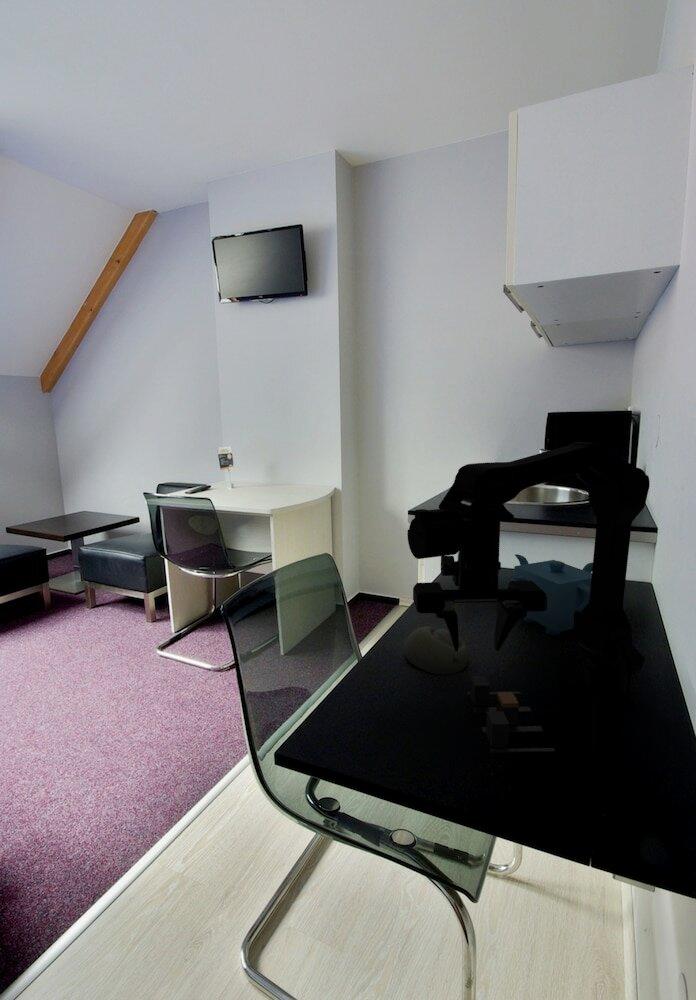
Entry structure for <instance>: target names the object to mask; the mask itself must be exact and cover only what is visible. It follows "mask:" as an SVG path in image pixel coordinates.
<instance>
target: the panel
mask: <svg viewBox="0 0 696 1000" xmlns="http://www.w3.org/2000/svg"><path fill="white" fill-rule="evenodd" d="M497 692H498V691H490V696H495V695H496V696H497ZM512 692H513V694H514V695H522V692H521V691H512ZM466 694H467V696H470V691H466ZM472 709H473V712H474V713H475V714H481V713H483V714H485V713H486V714H487V712H494V711H497V706H495V707H494V706H481V707H473V708H472ZM531 712H532V709H531V708H530V706H519V710H518V713H531ZM480 728H481V731H482V733H485V734H486V726H481V727H480ZM543 732H544V729H543V728H542V726H541V725H522V726H521V725H520V726H519V725H509V733H543ZM490 752H491V753H492V754H493V753H496V754H497V753H499V754H500V753H550V752H551V753H553V752H554V753H555V752H556V749H555V748H554V747H531V748H529V747H526V748H523V747H522V748H521V747H520V748H490Z"/></svg>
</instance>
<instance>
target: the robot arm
mask: <svg viewBox="0 0 696 1000" xmlns="http://www.w3.org/2000/svg"><path fill="white" fill-rule="evenodd" d="M574 474H576V475H575V476H576V477H577V478H578V479H579V481H581V482H583V483H584V484H585V485H586V486H587V492H588V495H587V496H588V502H589V505H590V507H591V509H592V510H593V513H594V515H595V517H596V527H595V534H594V535H595V537H594V547H593V556H592V557H593V559H592V562H593V567H592V572H591V573H592V578H591V589H590V599H589V603H588V604H587V605H586V606H585V607H584V609H583V610H582V611H575V613H574V626H573V629H571V633H572V634H573V635H574V640H575V642H576V643H577V644H578V646H579V649H580V650H579V651H580V653H582V654H585V655H586V656H587V658H586V665H584V666H583V676H582V685H583V686H584V687H585V689H586V690H587V691H588V692H589V693H594V694H600V695H603V696H607V697H610V698H611V697H612V698H616V699H618V700H619V702H621V703H622V704H623V705H634V704H636V703H637V701H636V699H635V698H634V697H633V695H631V691H632V690H631V689H632V681H633V680H632V679H633V676H634V675H636V673H637V672H640V671H641V670H642V668H643V666H644V663H645V660H646V658H645V657H644V656H643V655H642V653H640V652H639V650H638V649H637V648H636V647H635V646H634V645H633V637H632V625H631V623H630V621H629V618H628V617H627V614H626V612H625V610H624V598H625V589H626V579H627V570H628V559H629V553H630V543H631V541H630V540H631V532H632V524H633V521H634V520H635V519H636V518H637V517H638V516H639V514H640V513H641V512H642V511H643V510H644V508H645V506H646V502H647V499H648V494H649V489H650V478H649V475H647V474H646V472H645V471H644V470H643V469H642V468H640V467H635V466H634V465H633V464H631V463H630V462H629V461H626V460H624V459H623V458H620V457H619V456H616V455H615V454H613V453H611V452H609V451H608V450H607V449H606V448H605V447H604V446H602V445H600V443H597V442H587V441H586V442H585V441H574V442H572V443H569V444H567V445H565V446H561V447H557V448H555V449H551V450H547V451H544V452H541V453H537V454H533V455H529V456H526V457H523V458H519V459H516V460H511V461H507V462H506V461H505V462H500V461H499V462H497V461H496V462H477V463H475V462H474V463H468V464H465V465H463V466H461V467H459V469H458V470H457V473H456V475H455V477H454V480H453V484H452V485H451V486H450V488H449V489H448V491H447V492H446V494H445V496H444V497H443V499H442V500H441V502H440V503H439V505H438V509H437V508H436V509H425V508H424V509H423V508H421V509H415V510H414V518H413V519H411V521H410V523H409V528H408V529H407V543H408V547H409V550H410V552H411V554H412V556H413V557H414V558H415V559H416V560H423V559H429V558H439V557H440V574H441V576H442V577H447V576H448V577H449V576H450V577H451V578H452V582H453V583H454V586H455V587H458V589H443V588H442V586H441V584H440V582H439V581H438V582H437V581H436V582H435V581H434V582H416V583H415V585H413V588H412V600H413V603H414V605H415V609H416V612H417V613H419V614H435V617H437V619H443V620H444V622H445V624H446V627H447V630H448V631H449V634H450V637H451V640H452V643H453V646H454V649H455V651H458V647H459V637H460V636H459V622H458V620H459V618H458V613H457V611H456V610H455V607H454V606H455V604H457V603H458V604H459V603H462V604H463V603H464V604H466V603H496V613H497V614H496V621H495V628H494V629H495V630H494V636H493V637H494V649H495V651H497V652H498V651H500V649H501V648H502V646H503V644H504V643H505V641H506V639H507V637H508V635H509V634H510V632H511V631H512V630H513V628H514V627H515V626H516V624H517V623H518V621H519V620H520V619H522V618H525V617H526V616H527V612H529V611H545V610H547V596H546V593H545V592H544V591H543V590H541V589H540V588H539V587H538V586H537V585H536V584H535V583H534V582H533V581H514V580H510V581H509V582H508V585H507V588H506V587H505V588H499V576H500V575H499V572H500V570H501V569H502V562H501V561H500V540H501V539H500V538H501V522H503V521H512V520H514V519H515V515H514V514H513V513H512V512H510V511H509V510H508V508H507V507H506V506H505V505H504V504H506V503H508V502H511V501H512V500H514V499H515V498H516V497H517V496H518V495H519V494H520V492H522V491H524V490H526V489H528V488H531V487H534V486H539V485H541V484H544V483H548V482H550V481H555V480H558V479H562V478H564V477H567V476H571V475H574ZM463 502H465V503H469V504H465V503H463ZM457 554H458V555H457ZM455 555H457V560H455ZM501 571H502V570H501Z"/></svg>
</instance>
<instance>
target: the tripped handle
mask: <svg viewBox="0 0 696 1000" xmlns="http://www.w3.org/2000/svg"><path fill="white" fill-rule="evenodd" d="M496 692H497V695H496V707H497V711H503V712H504V714H505V716H506V718H507V720H508V722H509V726H519V712H518V710H519V707H520V705H519V704H520V703H519V701H518V699H517V698H516V696H515V694H513V692H514V691H496Z"/></svg>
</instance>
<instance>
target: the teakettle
mask: <svg viewBox="0 0 696 1000" xmlns="http://www.w3.org/2000/svg"><path fill="white" fill-rule="evenodd" d="M514 556H515V557H516V558H517V560H518V562H519V565H515V566H514V569H513V575H512V576H511V579H513V581H533V582H534V583H535V584H536V585H537V586H538V587H539V588H540V589H541V590H543V591H544V592H545V593H546V596H547V610H545V611H529V612H527V616H526V617H523V621H524V622H526V623H529V624H532V623H533V624H534V623H538V624H539V625H541V626H543V627H545V628H546V629H545V634H547V635H550V636H559V635H560V634H561V633H563V632H565V631H570V630H572V629H573V626H574V613H575V611H582V610H583V609H584V607H585V606H586V605H587V604H588V603H589V599H590V589H591V578H592V567H593V561H592V562H589V563H587V564H585V565H584V566H583V568H582V569H581V568H579V567H575V566H572V565H570V564H567V563H565V562H563V561H560V560H555V559H551V560H544V561H539V562H538V561H537V562H531V563H529V562H528V559H527V558H526V557H525V556H523V555H521V554H514Z"/></svg>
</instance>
